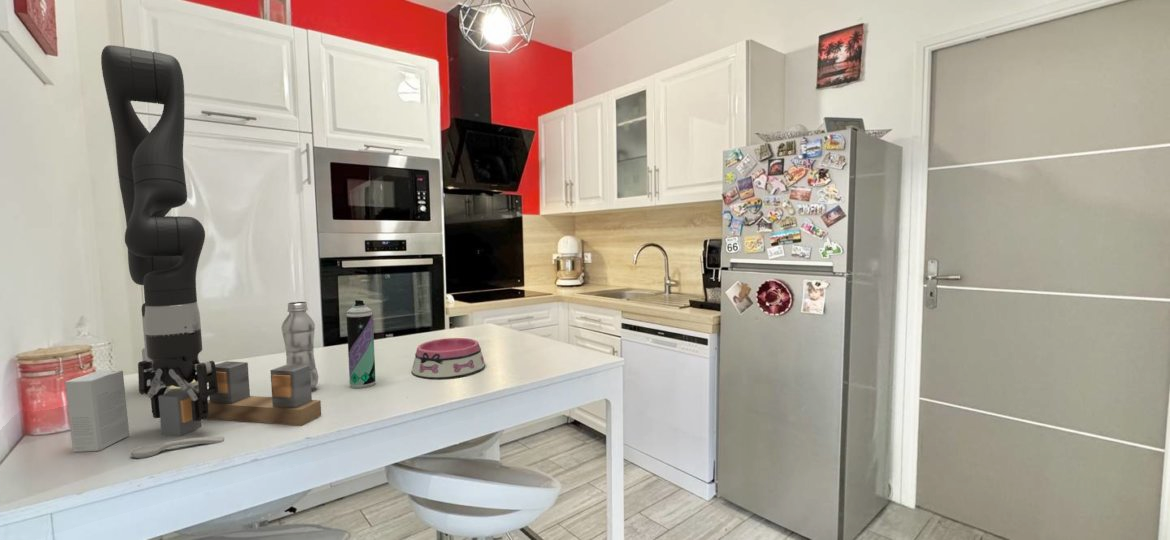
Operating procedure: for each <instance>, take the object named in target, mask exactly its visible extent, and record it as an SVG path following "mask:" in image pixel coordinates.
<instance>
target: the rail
mask: <svg viewBox="0 0 1170 540" xmlns="http://www.w3.org/2000/svg"><path fill="white" fill-rule="evenodd" d="M215 368H216V376H217V384H218V393H216V394H213V395H210V396H209V397H208V416H207V417H206V418H205V419H210V420H220V421H221V420H224V421H235V422H249V423H261V424H262V423H263V424H277V425H291V426H301V427H302V426H304V425H306V424H308V423H310V422H311V421H313V420H315V419H317V418H320V417H322V404H321V403H322V401H321V400H320V399H319V400H318V399H312V398H313V397H312V389H311V376H310V365H290V364H287V365H286V364H284V365H281V366H277V367H275V368H272V369H271V370H270V383H271V384H270V385H271V396H259V395H258V396H257V395H251V394H250V393H251V391H250V390H251V389H250V380H249V378H250V377H249V364H248V362H246V361H229V360H228V361H222V362H219V363H215ZM207 384H208V385H209V382H208V383H207ZM208 389H210V385H209V386H208Z"/></svg>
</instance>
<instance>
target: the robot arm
mask: <svg viewBox="0 0 1170 540" xmlns="http://www.w3.org/2000/svg"><path fill="white" fill-rule="evenodd" d="M100 61H101V62H100V63H101V71H102V72H101V73H102V78H103V83H104V89H105V92H106V97H107V103H108V107H109V112H110V116H111V117H110V118H111V122H112V126H113V132H114V140H115V141H114V142H115V155H116V164H117V174H118V183H119V189H120V194H121V199H122V205H123V209H124V216H125V217H124V218H125V225H126V229H125V232H124V244H125V246H126V248H127V261H128V262H127V264H128V270H129V275H130V278H131V280H132V281H133V282H134V284H136V285H139V286H143V294H144V295H143V296H144V303H143V304H142V305H141V319H142V321H141V322H142V331H143V342H144V348H142V350H141V358H142V360H141V361H139V362H138V363H137V368H138V369H137V371H138V373H137V374H138V375H137V377H138V392H139V394H140V395H147V397H148V398H149V399H150V406H151V413H152V417H153V419H160V411H159V398H158V396H160V395H163V394H166V393H167V392H168V391H170V390H172V389H169V387H170V386H172V385H173V386H175V387H180V388H181V389H182V390H183V391H184V392H187V393H188V394H189V396H190V397H191V399H192V400H193V401H191V405H192V419H193V421H200V420H201V421H202V420H204V419H207V418H206V417H207V416H208V400H209V396H210V395H213V394H216V393H218V384H217V376H216V368H215V364H216V362H215V361H214V360H209V361H205V362H200V360H199V358H200V357H199V354H201V352H202V351H203V341H202V340H203V337H202V325H201V323H202V322H201V314H200V310H199V305H198V297H197V295H198V293H197V270H198V265H199V261H200V256H201V254H202V250H203V248H204V244H205V241H206V231H205V228H204V226H203V224H202V223H201V222H200V221H199V219H197V218H195V217H192V216H171V215H170V216H169V215H167V214H168V213H169V212H170V211H172V209H175V208H179V207H182V206H183V205H185V204H186V203H187V200H188V191H187V181H186V173H185V172H186V171H185V166H184V165H185V164H184V163H185V162H184V138H185V81H184V74H183V70H182V67H181V63H180V62H179V60H178V59H177V58H176V57H175V56H173V55H170V54H166V53H163V52H162V53H161V52H156V51H150V50H145V49H140V48H139V49H138V48H133V47H124V46H120V45H105V46H104V47H103V49H102V51H101V58H100ZM132 102H140V103H149V104H158V105H163V109H162V114H161V116H160V118H159V120H158V122H157V123H156V124H155V126H153V128H152V129H151V130H150V131H149V130H148V129H147V127H146V126H145V125H144V124H143V122H142V121H141V119H140V118H139V116H138V115H137V113H136V111H135V109H134V107H133V104H132ZM166 215H167V216H166ZM193 380H195V381H196V382H193V383H191V382H192V381H193ZM208 382H209V384H208ZM207 384H208V385H210V389H209V388H208V387H207ZM195 388H198V390H199V392H198V393H197V391H196V390H195Z"/></svg>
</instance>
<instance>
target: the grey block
mask: <svg viewBox="0 0 1170 540" xmlns="http://www.w3.org/2000/svg"><path fill="white" fill-rule="evenodd" d="M196 391H197V393H198V392H199V390H196ZM158 398H159V411H160V418H159V422H160V430H161V431H160V432H161V433H160V434H161V435H162V436H164V435H165V436H175V437H176V436H177V437H181V436H184V435H186V434H188V433H191V432H192V431H196V430H198V429H201V428H202V427H203V424H202V423H203V422H202V420H200V421H193V419H192V405H191V401H193V400H192V399H191V397H190V396H189V394H188V393H187V392H184V391H183V390H182V389H179V390H176V391H173V392H169V393H166V394H163V395H160V396H158Z"/></svg>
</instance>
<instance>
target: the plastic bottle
mask: <svg viewBox="0 0 1170 540" xmlns="http://www.w3.org/2000/svg"><path fill="white" fill-rule="evenodd" d="M307 311H309V310H308V303H307V301H292V302H288V303H287V311H286V312H288V315H287V316H286V318H285V319H284V321H283V322H282V323H281V324H282V325H281V332H282V338H283V342H284V347H285V348H284V349H285V357H286V364H285V365H287V364H290V365H310V376H311V390H313V389H315V388H316V386H317V385H318V383H319V374H318V369H317V366H316V359H315V354H314V353H315V350H314V342H315V341H314V340H315V331H316V330H315V329H316V324H315V322H314V320H313V318H312V317H311V316H310V315H309V314H308V313H307Z"/></svg>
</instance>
